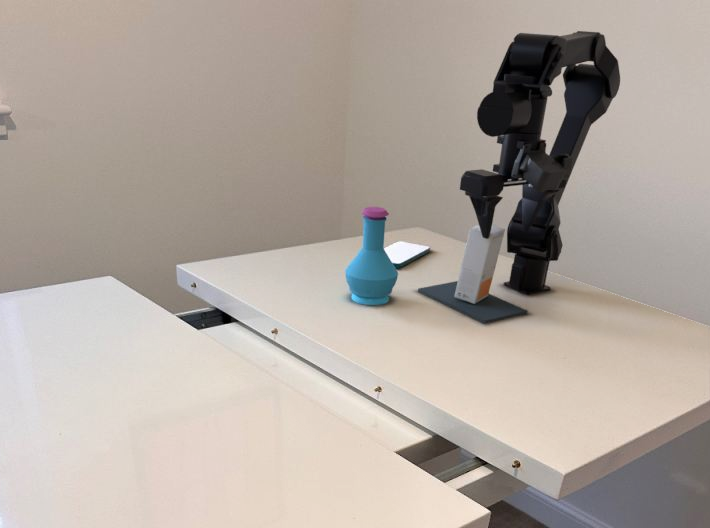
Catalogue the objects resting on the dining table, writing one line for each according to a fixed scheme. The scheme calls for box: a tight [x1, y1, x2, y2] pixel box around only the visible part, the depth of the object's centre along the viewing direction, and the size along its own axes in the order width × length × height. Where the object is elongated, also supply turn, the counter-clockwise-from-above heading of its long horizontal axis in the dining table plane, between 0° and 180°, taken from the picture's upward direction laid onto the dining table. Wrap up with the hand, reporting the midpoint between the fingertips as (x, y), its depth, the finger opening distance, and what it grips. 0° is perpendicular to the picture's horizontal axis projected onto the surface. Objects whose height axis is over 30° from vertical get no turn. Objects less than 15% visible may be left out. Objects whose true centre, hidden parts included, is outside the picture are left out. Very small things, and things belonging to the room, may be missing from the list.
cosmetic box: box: [454, 224, 506, 304], centre depth 124 cm, size 6×4×12 cm
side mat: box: [417, 280, 528, 325], centre depth 128 cm, size 10×18×1 cm, turn 34°
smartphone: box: [383, 240, 431, 268], centre depth 148 cm, size 8×1×16 cm
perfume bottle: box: [344, 206, 399, 306], centre depth 123 cm, size 9×9×15 cm
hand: (505, 235), depth 120 cm, fingers open, 9 cm apart
